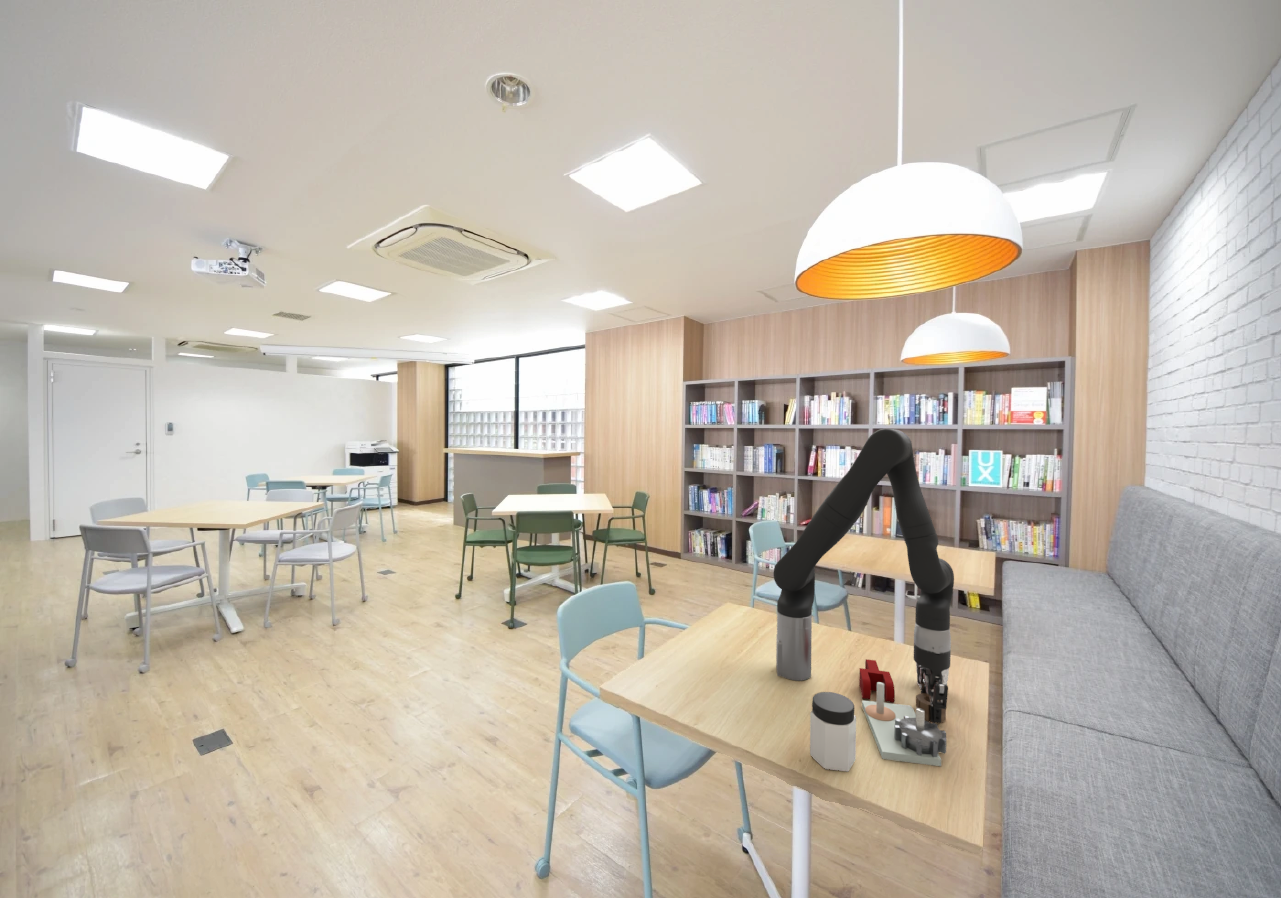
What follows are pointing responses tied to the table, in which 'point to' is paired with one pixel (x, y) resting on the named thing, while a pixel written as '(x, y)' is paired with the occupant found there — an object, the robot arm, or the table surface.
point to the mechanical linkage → (875, 681)
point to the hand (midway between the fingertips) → (930, 713)
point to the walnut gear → (927, 707)
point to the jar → (833, 731)
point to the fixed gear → (920, 734)
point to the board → (892, 729)
